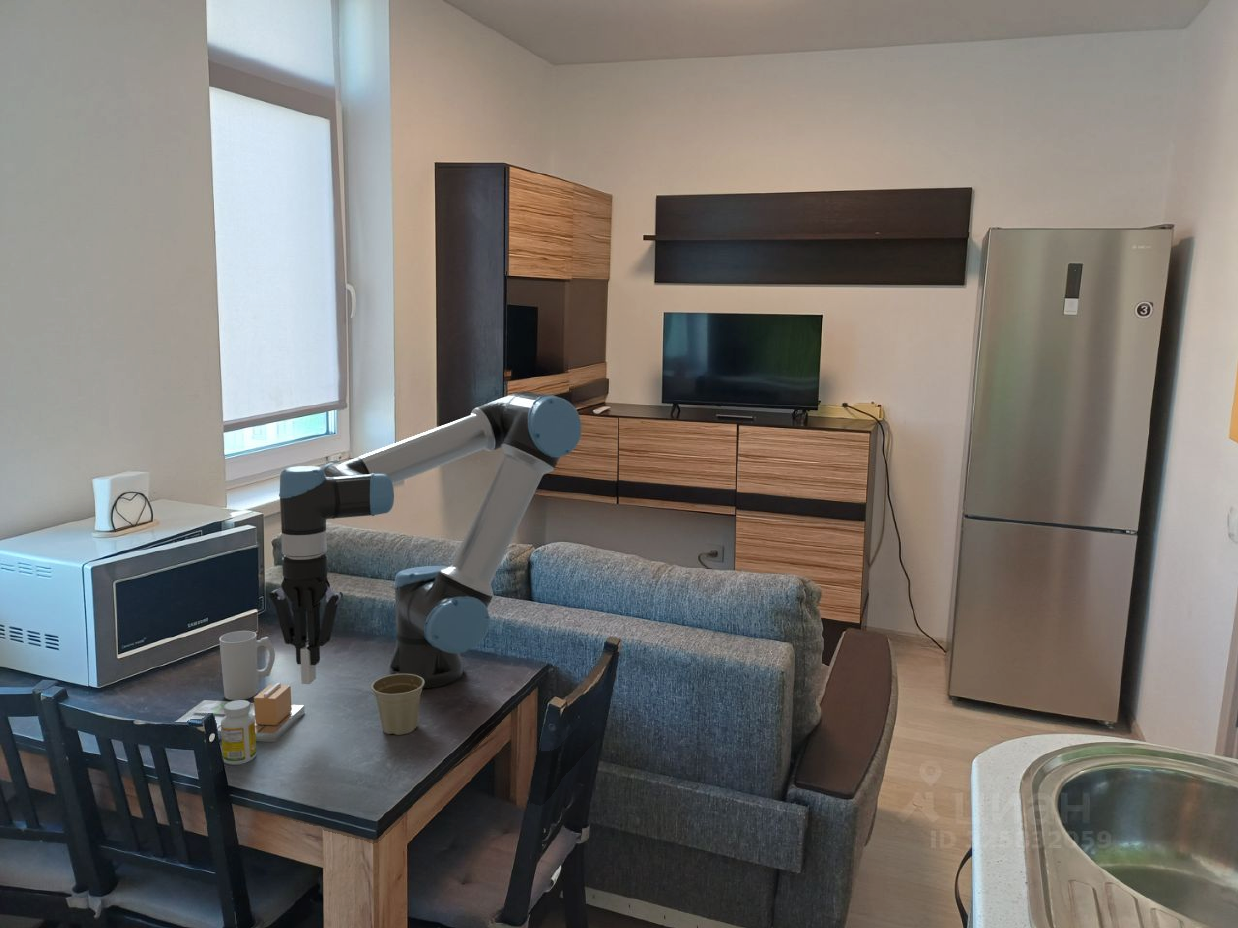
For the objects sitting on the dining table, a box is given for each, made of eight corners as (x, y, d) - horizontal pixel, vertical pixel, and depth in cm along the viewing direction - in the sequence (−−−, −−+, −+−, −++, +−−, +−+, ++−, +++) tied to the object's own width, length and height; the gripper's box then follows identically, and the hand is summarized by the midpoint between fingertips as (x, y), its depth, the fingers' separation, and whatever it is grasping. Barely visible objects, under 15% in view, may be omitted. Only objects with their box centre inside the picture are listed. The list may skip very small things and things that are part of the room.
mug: (225, 703, 177) (221, 644, 175) (220, 691, 183) (216, 634, 181) (280, 693, 182) (276, 635, 180) (273, 681, 188) (270, 625, 186)
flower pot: (399, 744, 161) (397, 698, 159) (361, 731, 166) (360, 686, 164) (436, 724, 168) (435, 680, 167) (399, 712, 173) (398, 669, 172)
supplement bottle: (232, 768, 152) (229, 714, 150) (217, 758, 155) (213, 705, 154) (263, 757, 156) (259, 703, 154) (247, 747, 159) (243, 695, 158)
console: (304, 713, 173) (304, 704, 173) (274, 742, 161) (273, 733, 161) (204, 707, 175) (204, 699, 175) (167, 736, 163) (166, 727, 163)
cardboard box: (291, 710, 170) (290, 682, 169) (276, 724, 164) (274, 695, 163) (271, 709, 170) (269, 681, 169) (255, 723, 164) (253, 694, 163)
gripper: (348, 550, 164) (351, 675, 168) (279, 547, 166) (283, 671, 169) (331, 561, 157) (335, 691, 161) (259, 557, 158) (264, 687, 162)
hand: (308, 680), depth 165 cm, fingers closed
